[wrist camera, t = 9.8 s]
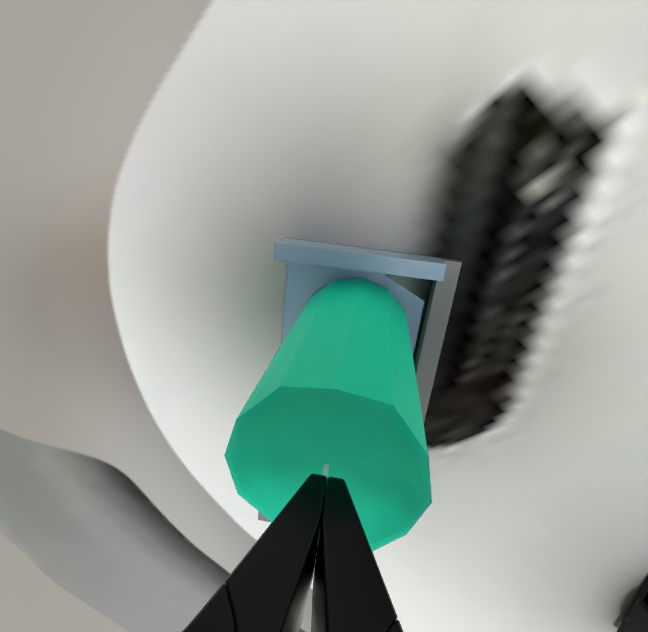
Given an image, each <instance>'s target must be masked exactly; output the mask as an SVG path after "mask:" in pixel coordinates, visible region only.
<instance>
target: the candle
mask: <svg viewBox="0 0 648 632" xmlns="http://www.w3.org/2000/svg"><path fill="white" fill-rule="evenodd" d="M225 458H226V461H227V464H228V466H229V469H230V472H231V475H232V478H233V481H234V484H235V487H236V490H237V493H238V494H239V495H240V496H241V497H242V498H244V499H245V500H246V501H247V502H248V503H250V504H251V505H252V506H253V507H255V508H256V509H257V510H258V511H259V512H261V513H262V514H263V515H264V516H265V517H267V518H268V519H269V520H270V521H271V522H273V520H274V519H275V518H276V517H277V515H278V514H279V513H280V512H281V510H282V509H283V508H284V507H285V505H286V504H287V503H288V502H289V500H290V499H291V498H292V497H293V495H294V494H295V493H296V492H297V490H298V489H299V488H300V487H301V485H302V484H303V483H304V482H305V480H306V479H307V478H308V477H309V475H311V474H313V473H314V474H319V475H325V476H326V477H327V479H328V477H336V478H342V479H344V480H345V482H346V485H347V488H348V490H349V493H350V495H351V498H352V501H353V503H354V506H355V508H356V511H357V513H358V516H359V519H360V521H361V524H362V526H363V529H364V532H365V534H366V537H367V539H368V542H369V545H370V547H371V550H372V551H374V550H376V549H378V548H380V547H382V546H384V545H386V544H388V543H390V542H392V541H394V540H396V539H398V538H400V537H402V536H404V535H406V534H407V533H408V531H409V530H410V529H411V528H412V526H413V525H414V524H415V523H416V521H417V520H418V519H419V518H420V516H421V515H422V514H423V513H424V511H425V510H426V509H427V508H428V506H429V505H430V504H431V503H432V499H431V485H430V471H429V457H428V450H427V444H426V437H425V431H424V424H423V418H422V412H421V405H420V399H419V393H418V386H417V380H416V374H415V367H414V361H413V354H412V348H411V342H410V335H409V329H408V323H407V316H406V311H405V310H404V309H403V308H402V306H401V305H400V304H399V302H398V301H397V300H396V298H395V297H394V296H393V294H392V293H391V292H390V290H389V289H386V288H384V287H382V286H379V285H377V284H375V283H372V282H370V281H367V280H365V279H363V278H357V279H348V280H339V281H332V282H331V283H329V284H328V285H327V286H325V287H324V288H323V289H321V290H320V291H319V292H317V293H316V294H315V295H313V296H312V297H311V298H310V299H309V301H308V303H307V304H306V306H305V308H304V309H303V311H302V312H301V314H300V316H299V317H298V319H297V321H296V322H295V324H294V326H293V327H292V329H291V331H290V332H289V334H288V335H287V337H286V339H285V340H284V342H283V344H282V345H281V347H280V349H279V350H278V352H277V354H276V355H275V357H274V358H273V360H272V362H271V363H270V365H269V367H268V368H267V370H266V372H265V373H264V375H263V377H262V378H261V380H260V381H259V383H258V385H257V386H256V388H255V390H254V391H253V393H252V395H251V396H250V398H249V400H248V401H247V403H246V404H245V406H244V408H243V409H242V411H241V413H240V414H239V416H238V418H237V419H236V422H235V425H234V428H233V431H232V434H231V437H230V441H229V444H228V447H227V450H226V453H225ZM326 485H327V484H326ZM325 492H326V491H325Z"/></svg>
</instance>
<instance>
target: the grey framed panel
mask: <svg viewBox="0 0 648 632" xmlns="http://www.w3.org/2000/svg"><path fill="white" fill-rule="evenodd" d="M274 260H282V261H288V263H287V276H286V290H285V303H284V317H283V330H282V343H281V345H282V344H283V342H284V340H285V339H286V337H287V335H288V334H289V332H290V331H291V329H292V327H293V326H294V324H295V322H296V321H297V319H298V317H299V316H300V314H301V312H302V311H303V309H304V308H305V306H306V304H307V303H308V301H309V299H310V298H311V297H312V296H313V295H315V294H316V293H317V292H319V291H320V290H321V289H323V288H324V287H325V286H327V285H328V284H329V283H331V282H332V281H339V280H348V279H357V278H363V279H365V280H367V281H370V282H372V283H375V284H377V285H379V286H382V287H384V288H386V289H389V290H390V292H391V293H392V294H393V296H394V297H395V298H396V300H397V301H398V302H399V304H400V305H401V306H402V308H403V309H404V310H405V311H406V316H407V323H408V329H409V335H410V342H411V348H412V354H413V353H414V349H415V344H416V339H417V334H418V330H419V325H420V320H421V315H422V310H423V306H424V301H423V300H422V299H420V298H419V297H417V296H416V295H414V294H413V293H411V292H410V291H408V290H407V289H405V288H404V287H402V286H401V285H399V284H398V283H396V282H395V281H393V280H392V279H390V278H389V277H387V276H386V275H385V274H390V275H397V276H405V277H413V278H421V279H428V280H433V283H432V287H431V292H430V296H429V301H428V305H427V309H426V314H425V318H424V322H423V327H422V331H421V335H420V340H419V344H418V348H417V353H416V357H415V362H414V367H415V374H416V380H417V386H418V393H419V399H420V405H421V412H422V418H423V424H424V421H425V416H426V412H427V408H428V404H429V399H430V395H431V391H432V387H433V383H434V378H435V374H436V370H437V366H438V361H439V357H440V353H441V349H442V345H443V340H444V336H445V332H446V328H447V323H448V319H449V315H450V311H451V307H452V302H453V298H454V294H455V290H456V285H457V281H458V277H459V273H460V268H461V264H462V262H460V261H459V260H453V259H445V258H437V257H430V256H422V255H414V254H406V253H399V252H391V251H383V250H375V249H368V248H360V247H352V246H344V245H337V244H329V243H321V242H313V241H306V240H298V239H290V238H285V239H283V240H280V241H278V242H276V243H275V256H274ZM258 520H262V521H268V522H271V521H270V520H269V519H268V518H267V517H265V516H264V515H263V514H262V513H261V512H259V514H258Z"/></svg>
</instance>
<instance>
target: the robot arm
mask: <svg viewBox="0 0 648 632" xmlns="http://www.w3.org/2000/svg"><path fill="white" fill-rule="evenodd" d="M326 484H327V485H326ZM325 491H326V492H325ZM316 553H317V555H316ZM315 560H316V562H315ZM314 567H315V569H314ZM313 573H314V578H313ZM312 578H313V596H312V622H311V632H403V630H402V627H401V624H400V622H399V620H397V614H396V612H395V609H394V607H393V604H392V602H391V599H390V596H389V594H388V591H387V589H386V586H385V583H384V581H383V578H382V576H381V573H380V570H379V568H378V565H377V563H376V560H375V558H374V555H373V552H372V550H371V547H370V545H369V542H368V539H367V537H366V534H365V532H364V529H363V526H362V524H361V521H360V519H359V516H358V513H357V511H356V508H355V506H354V503H353V501H352V498H351V495H350V493H349V490H348V488H347V485H346V482H345V480H344V479H342V478H336V477H328V479H327V477H326V476H325V475H319V474H314V473H313V474H311V475H309V477H308V478H307V479H306V480H305V482H304V483H303V484H302V485H301V487H300V488H299V489H298V490H297V492H296V493H295V494H294V495H293V497H292V498H291V499H290V500H289V502H288V503H287V504H286V505H285V507H284V508H283V509H282V510H281V512H280V513H279V514H278V515H277V517H276V518H275V519H274V520H273V522H272V523H271V524H270V525H269V527H268V528H267V529H266V530H265V532H264V533H263V534H262V535H261V537H260V538H259V539H258V540H257V542H256V543H255V544H254V546H253V547H252V548H251V549H250V550H249V552H248V553H247V554H246V556H245V557H244V558H243V559H242V561H241V562H240V563H239V564H238V566H237V567H236V568H235V569H234V571H233V572H232V573H231V574H230V575H229V577H228V578H227V579H226V581H225V584H222V585H221V586H220V588H219V589H218V590H217V591H216V593H215V594H214V595H213V596H212V598H211V599H210V600H209V601H208V603H207V604H206V605H205V606H204V607H203V608H202V610H201V611H200V612H199V613H198V614H197V616H196V617H195V618H194V619H193V620H192V621H191V623H190V624H189V625H188V626H187V627H186V628H185V629H184V630H183V631H182V632H299V630H300V626H301V622H302V618H303V615H304V611H305V607H306V603H307V599H308V595H309V591H310V587H311V583H312ZM617 632H648V578H647V580H646V581H645V583H644V585H643V587H642V588H641V590H640V592H639V594H638V595H637V597H636V599H635V600H634V602H633V604H632V606H631V607H630V609H629V611H628V613H627V614H626V616H625V618H624V619H623V621H622V623H621V625H620V626H619V628H618V630H617Z"/></svg>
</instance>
